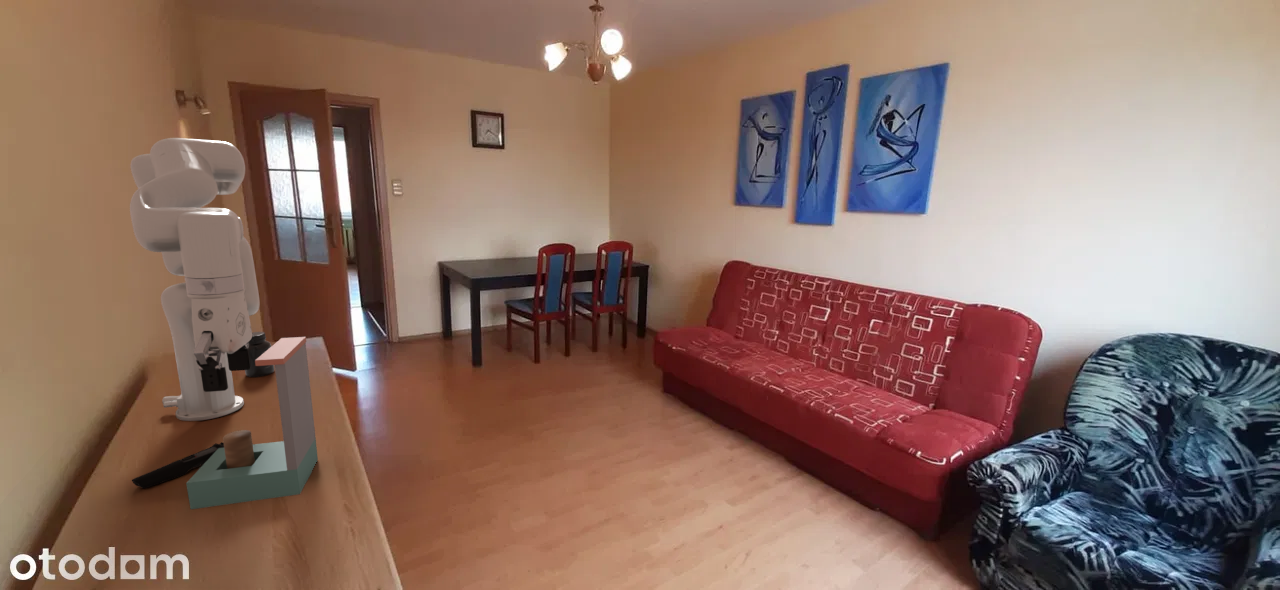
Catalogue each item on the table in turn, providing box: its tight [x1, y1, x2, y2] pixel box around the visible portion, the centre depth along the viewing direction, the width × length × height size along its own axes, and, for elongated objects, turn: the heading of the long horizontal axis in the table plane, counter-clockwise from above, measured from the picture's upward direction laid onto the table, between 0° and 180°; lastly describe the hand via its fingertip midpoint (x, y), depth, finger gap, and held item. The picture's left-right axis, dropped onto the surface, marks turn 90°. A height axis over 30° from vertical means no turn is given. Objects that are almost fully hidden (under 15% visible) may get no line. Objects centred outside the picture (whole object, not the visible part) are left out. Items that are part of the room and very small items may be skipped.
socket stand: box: [185, 336, 319, 510], centre depth 91 cm, size 16×13×26 cm
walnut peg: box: [222, 429, 255, 469], centre depth 91 cm, size 4×4×10 cm
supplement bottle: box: [244, 331, 275, 378], centre depth 144 cm, size 7×7×12 cm
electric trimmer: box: [131, 441, 224, 489], centre depth 96 cm, size 4×16×3 cm, turn 159°
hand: (228, 379), depth 88 cm, fingers open, 9 cm apart
